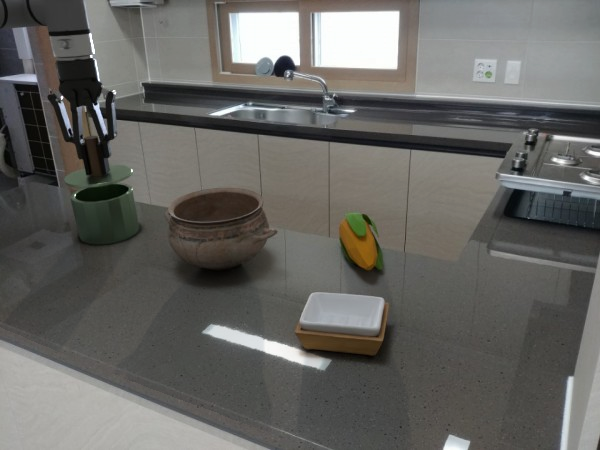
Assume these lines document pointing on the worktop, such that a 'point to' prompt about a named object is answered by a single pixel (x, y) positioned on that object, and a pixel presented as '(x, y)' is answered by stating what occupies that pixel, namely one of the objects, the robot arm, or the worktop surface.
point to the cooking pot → (218, 227)
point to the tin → (105, 213)
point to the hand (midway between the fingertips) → (98, 172)
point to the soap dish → (343, 323)
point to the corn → (360, 241)
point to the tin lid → (96, 170)
